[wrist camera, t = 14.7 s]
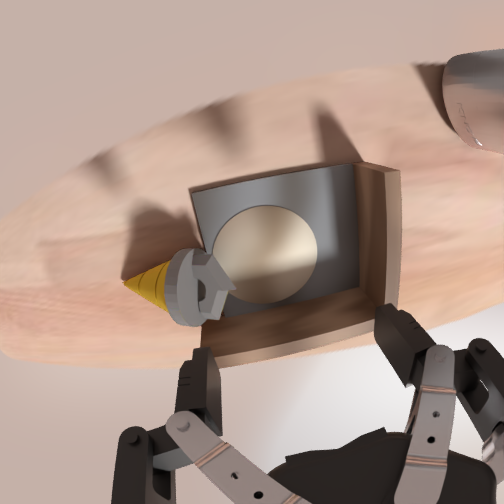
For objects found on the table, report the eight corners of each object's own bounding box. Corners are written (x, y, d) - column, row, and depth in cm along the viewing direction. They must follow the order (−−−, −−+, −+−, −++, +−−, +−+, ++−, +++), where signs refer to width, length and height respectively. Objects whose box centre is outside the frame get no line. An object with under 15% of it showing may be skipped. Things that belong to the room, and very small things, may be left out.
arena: (364, 161, 20) (400, 170, 15) (369, 292, 24) (395, 323, 20) (165, 199, 20) (148, 218, 15) (206, 330, 24) (204, 370, 20)
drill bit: (253, 309, 21) (147, 301, 25) (246, 240, 20) (137, 243, 23) (226, 346, 16) (108, 326, 20) (214, 259, 15) (92, 259, 18)
